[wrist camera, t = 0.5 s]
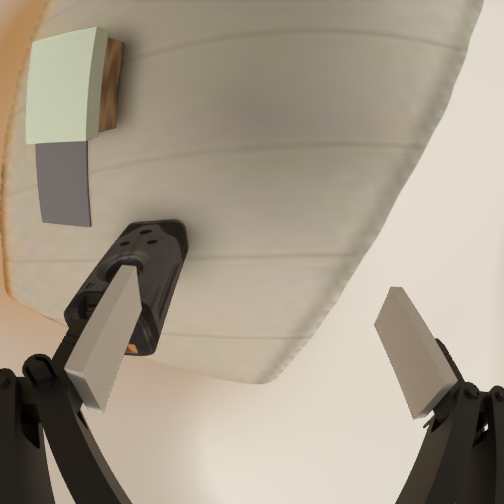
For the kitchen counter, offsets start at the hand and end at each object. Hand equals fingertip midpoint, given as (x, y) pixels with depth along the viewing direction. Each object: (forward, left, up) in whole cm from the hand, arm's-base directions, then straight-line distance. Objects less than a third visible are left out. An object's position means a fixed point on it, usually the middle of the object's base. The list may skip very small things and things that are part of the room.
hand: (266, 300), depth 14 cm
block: (-11, -23, -19) cm, 32 cm away
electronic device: (+11, -13, -26) cm, 31 cm away
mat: (+3, -29, -26) cm, 39 cm away
